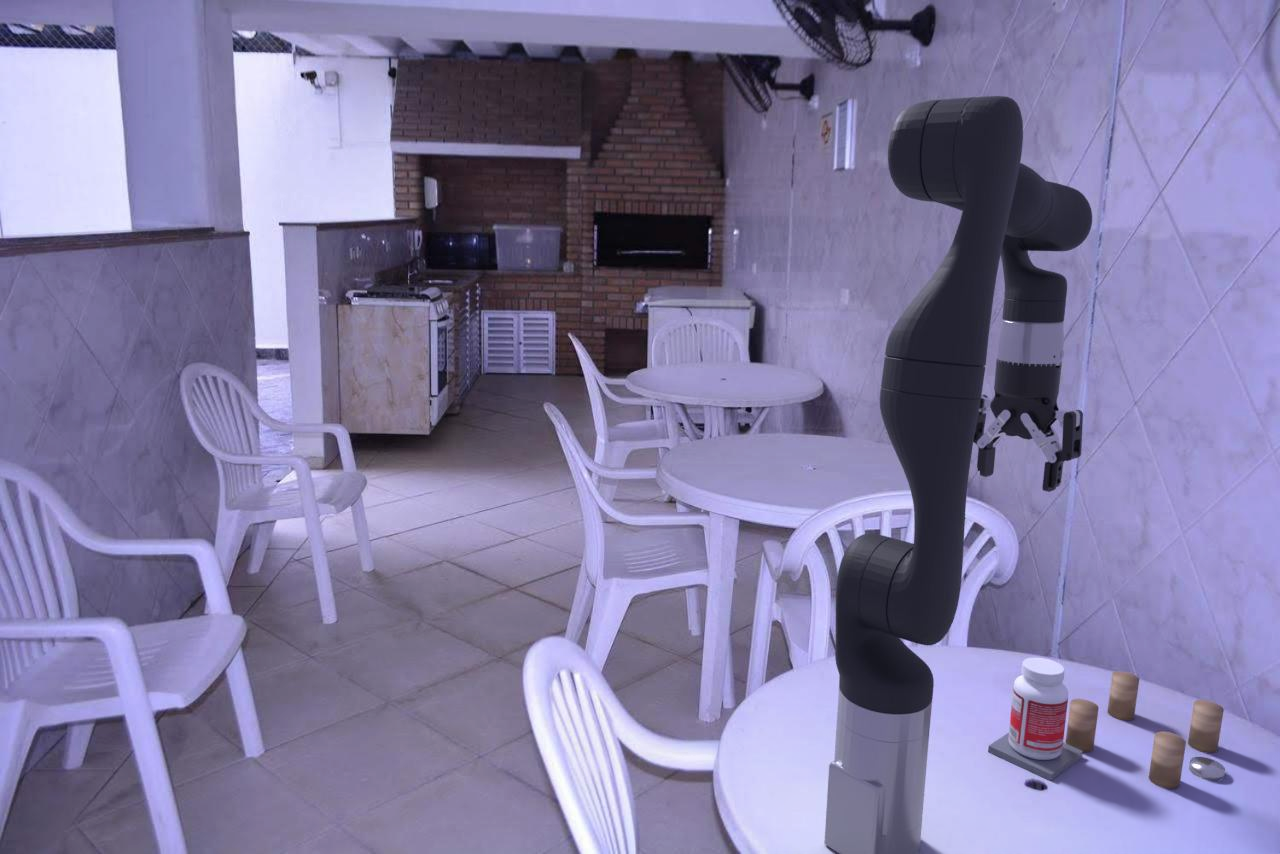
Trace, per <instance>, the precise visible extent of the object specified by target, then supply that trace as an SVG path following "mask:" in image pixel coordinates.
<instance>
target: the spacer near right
mask: <svg viewBox="0 0 1280 854" xmlns="http://www.w3.org/2000/svg"><path fill="white" fill-rule="evenodd" d="M1098 716H1099V706H1098V704H1096V703H1094V702H1093V701H1091V700H1088V699H1084V698H1074V699H1071V700H1070V702H1069V709H1068V717H1067V727H1066V735H1065V744H1068V745H1070V746H1072V747H1075V748H1077V749H1079V750H1082V751H1083V753H1090V752H1092V751H1093V750H1094V748H1095V747H1094V746H1095V740H1096V739H1095V738H1096V730H1097V724H1098V723H1097V722H1098Z"/></svg>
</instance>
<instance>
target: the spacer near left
mask: <svg viewBox="0 0 1280 854" xmlns="http://www.w3.org/2000/svg"><path fill="white" fill-rule="evenodd" d="M1186 745H1187V742H1186V740H1185V739H1184V738H1183V736H1180V735H1179V734H1175V733H1173V732H1169V731H1157V732H1155V733H1154V737H1153V744H1152V751H1151V758H1150V759H1151V760H1150V766H1149V772H1148V773H1149V774H1148V779H1149V781H1150V783H1152V784H1154V785H1156V786H1157V787H1161V788H1164V789H1167V790H1176V789H1178V788H1180V785H1181V778H1182V772H1183V767H1184V766H1183V765H1184V759H1185V753H1186Z"/></svg>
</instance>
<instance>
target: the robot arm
mask: <svg viewBox="0 0 1280 854" xmlns="http://www.w3.org/2000/svg"><path fill="white" fill-rule="evenodd" d="M1023 123H1024V121H1023V117H1022V111H1021V108H1020V106H1019V105H1018V103H1017V102H1016V100H1015V99H1013V98H1012V97H1009V96H1005V95H1004V96H1002V95H991V96H989V95H988V96H987V95H986V96H978V97H976V96H973V97H972V96H971V97H959V98H958V97H957V98H943V99H931V100H925V101H924V100H923V101H921V102H917V103H915V104H911V105H909V106H908V107H907V108H905V109H904V110H902V111H901V112H900V114H899V115H897V117H896V119H895V121H894V123H893V125H892V129H891V131H890V134H889V139H888V146H887V165H888V170H889V175H890V179H892V182H893V184H894V186H895V187H896V189H897V190H898V191H899V192H900V193H901V194H902V195H903V196H905V197H907V198H910V199H914V200H917V201H921V202H933V203H934V202H935V203H939V204H942V205H945V206H948V207H951V208H954V209H956V210H959V211H961V212H962V213H961V216H960V219H959V224H958V225H957V228H956V232H955V234H954V238H953V240H952V243H951V245H950V247H949V250H948V251H947V254H945V257H944V259H943V260H942V262H941V263H940V264H939V266H938V267H937V270H936V271H935V272H934V273H933V274H932V276H931V278H930V279H929V280H928V281H927V283H925V284H924V286H923V287H922V289H921V290H920V291H919V292H918V294H917V295H916V296H915V297H914V298H913V299H912V301H911V302H910V304H909V305H908V306H907V307H906V308H905V310H904V311H903V312H902V314H901V315H900V316H899V318H898V320H897V321H896V323H894V326H893V327H892V329H891V331H890V333H889V335H888V338H887V341H886V346H885V352H884V356H885V357H884V359H883V367H882V374H881V384H880V391H879V409H880V414H881V418H882V421H883V425H884V428H885V430H886V433H887V435H888V438H889V440H890V442H891V445H892V448H893V450H894V452H895V454H896V456H897V458H898V461H899V464H900V465H901V467H902V470H903V472H904V475H905V477H906V480H907V483H908V486H909V490H910V493H911V497H912V498H911V499H912V504H913V512H914V513H913V516H914V523H913V525H914V532H913V543H912V542H909V541H905V540H901V539H898V538H894V537H891V536H886V535H883V534H882V535H881V534H878V533H864V534H861V535H859V536H857V537H856V538H854V539H853V540H852V541H851V542H850V544H849V545H848V547H847V548H846V550H845V552H844V553H843V556H842V558H841V561H840V564H839V568H838V571H837V578H836V584H835V586H836V587H835V642H834V643H835V646H834V647H835V648H834V649H835V653H834V657H835V659H834V660H835V664H836V668H837V671H838V675H839V680H838V682H839V683H838V700H837V712H836V713H837V714H836V729H835V730H836V731H835V745H834V758H833V759H834V760H833V761H832V762H830V763H829V765H828V778H827V779H828V780H827V795H826V796H827V797H826V810H825V813H826V814H825V829H824V845H825V846H827V847H829V848H831V849H832V850H833V851H835V852H836V853H837V854H920V849H921V839H922V829H923V827H922V826H923V814H924V803H925V802H924V801H925V789H926V779H927V778H926V777H927V767H928V765H927V764H928V752H929V741H930V728H931V717H932V709H933V708H932V707H933V696H934V687H935V684H934V683H935V682H934V679H935V678H934V676H933V672H932V669H931V668H930V667H929V664H927V663H926V661H925V660H923V659H922V658H921V657H920V656H918V654H916V653H915V652H914V651H913V650H912V649H910V648H909V646H907V645H906V644H905V642H903V640H905V641H907V642H911V643H915V644H918V645H922V646H932V645H933V646H934V645H937V644H938V643H939V642H941V641H942V640H944V638H945V637H946V635H947V634H948V633H949V630H950V629H951V627H952V624H953V623H954V620H955V616H956V613H957V610H958V606H959V600H960V595H961V587H962V580H963V579H962V577H963V564H964V563H963V561H964V543H965V526H966V508H967V507H966V505H967V495H968V494H967V493H968V484H969V483H968V482H969V475H970V474H969V473H970V467H971V461H972V460H971V459H972V453H973V444H975V445H977V447H978V449H977V450H978V452H977V463H976V469H977V471H978V472H979V475H980V477H985V478H987V477H991V476H993V474H994V472H995V459H996V451H997V448H996V447H995V446H994V445H995V444H996V443H997V442H998V441H999V440H1000V439H1001V438H1002V437H1003V436H1007V437H1019V438H1021V439H1022V440H1023V439H1025V440H1029V441H1030V440H1032V439H1033V442H1034V443H1035V445H1036V446H1037V448H1040V449H1041V452H1042V453H1043V454H1044V456H1045V458H1046V460H1047V461H1045V462H1044V470H1043V477H1042V478H1043V479H1042V491H1044V492H1047V493H1048V492H1049V493H1050V492H1054V491H1056V489H1057V487H1060V485H1061V484H1062V479H1063V478H1062V476H1063V467H1064V463H1065V462H1070V461H1072V460H1075V459H1078V458H1080V457H1081V456H1082V445H1083V444H1082V443H1083V442H1082V441H1083V427H1084V426H1083V422H1084V421H1083V419H1084V412H1083V411H1082V410H1081V409H1074V410H1064V409H1059V406H1058V398H1059V394H1060V383H1061V377H1062V376H1061V375H1062V363H1063V358H1064V355H1065V354H1064V353H1065V351H1064V347H1065V346H1064V345H1065V331H1064V326H1065V325H1064V324H1065V323H1064V321H1065V314H1066V304H1067V295H1068V281H1067V277H1065V276H1064V275H1063V274H1061V273H1058V272H1056V271H1055V272H1054V271H1050V270H1047V269H1042V268H1040V267H1037V266H1035V264H1033V262H1032V261H1031V258H1030V256H1029V252H1068V251H1071V250H1074V249H1076V248H1078V247H1079V246H1080V245H1082V244H1083V243H1084V242H1085V240H1086V239H1087V237H1088V236H1089V234H1090V232H1091V230H1092V226H1093V212H1092V207H1091V204H1090V202H1089V201H1088V199H1087V197H1086V196H1085V195H1084V194H1083V193H1082V192H1081V191H1080V190H1078V189H1076V188H1074V187H1071V186H1067V185H1064V184H1061V183H1058V182H1053V181H1048V180H1045V178H1043V177H1042V176H1041V175H1040V174H1039V173H1038V172H1036V171H1035V170H1034V169H1033V168H1031V167H1029V166H1027V165H1026V164H1024V163H1022V161H1021V159H1022V154H1023V153H1022V152H1023V145H1024V144H1023V142H1024V141H1023V140H1024V124H1023ZM1000 258H1001V259H1000ZM1000 260H1001V264H1002V270H1003V281H1004V293H1003V294H1004V296H1003V297H1004V298H1003V308H1002V316H1001V317H1002V319H1001V320H1002V321H1001V325H1000V329H999V335H998V340H997V350H996V360H995V361H996V362H995V363H996V364H995V375H994V381H993V382H994V385H993V390H994V397H993V398H990V397H988V396H987V395H986V394H982V393H983V386H984V380H985V372H986V365H987V364H986V363H987V358H988V357H987V356H988V345H989V337H990V329H991V322H992V321H991V320H992V312H993V306H994V296H995V295H994V294H995V289H996V288H995V287H996V283H997V277H998V276H997V275H998V270H999V265H1000ZM990 411H991V413H992V414H993V416H994V417H995V420H994V421H993V422H992V423H991V424H990V425H989V426H988V427H987V428H986V429H985V426H986V418H987V413H990ZM1056 421H1058V422H1059V426H1060V427H1061V428H1062V440H1061V441H1062V442H1061V443H1060V437H1059V435H1058V433H1057V432H1056V430H1055V428H1054V426H1053V424H1055V422H1056Z"/></svg>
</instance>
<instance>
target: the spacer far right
mask: <svg viewBox="0 0 1280 854" xmlns="http://www.w3.org/2000/svg"><path fill="white" fill-rule="evenodd" d="M1139 685H1140V678H1139V677H1138V676H1137V675H1136V674H1134V673H1131V672H1128V671H1123V670H1116V671H1113V672H1112V674H1111V682H1110V689H1109V690H1110V691H1109V698H1108V703H1107V704H1108V705H1107V714H1108V715H1109V716H1111V717H1112V718H1114V719H1116V720H1120V721H1126V722H1127V721H1132V720H1134V719H1135V716H1136V715H1135V713H1136V707H1137V706H1136V705H1137V698H1138V692H1139Z"/></svg>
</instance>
